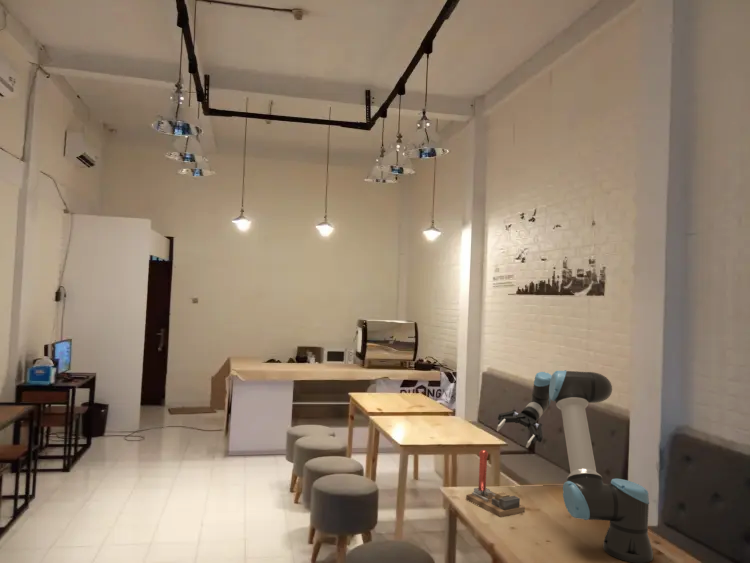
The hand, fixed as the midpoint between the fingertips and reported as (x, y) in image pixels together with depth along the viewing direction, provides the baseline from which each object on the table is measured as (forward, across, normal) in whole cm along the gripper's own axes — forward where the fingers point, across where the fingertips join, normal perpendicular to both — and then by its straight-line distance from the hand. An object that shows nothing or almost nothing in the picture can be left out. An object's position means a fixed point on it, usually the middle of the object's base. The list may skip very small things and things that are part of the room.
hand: (512, 436), depth 228 cm
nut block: (+18, -9, -18) cm, 27 cm away
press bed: (+18, -6, -21) cm, 28 cm away
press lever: (+15, 0, -22) cm, 27 cm away
